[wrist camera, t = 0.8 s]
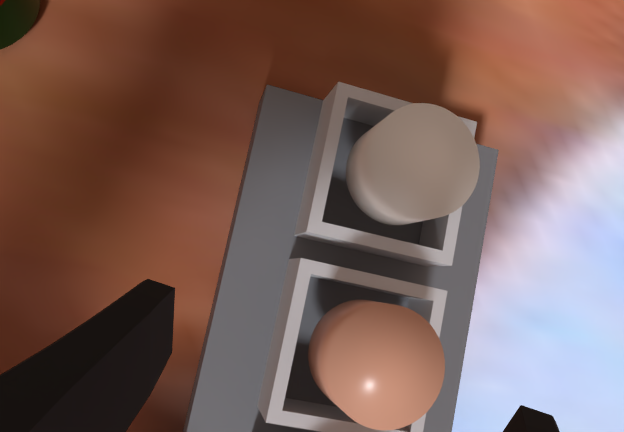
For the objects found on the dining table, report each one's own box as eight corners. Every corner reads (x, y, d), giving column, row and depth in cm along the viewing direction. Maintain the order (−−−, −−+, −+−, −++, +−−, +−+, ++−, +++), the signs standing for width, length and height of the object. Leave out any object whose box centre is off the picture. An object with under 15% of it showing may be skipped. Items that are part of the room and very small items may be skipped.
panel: (398, 580, 26) (448, 653, 21) (154, 552, 23) (146, 626, 19) (471, 160, 28) (531, 137, 23) (259, 101, 26) (276, 63, 21)
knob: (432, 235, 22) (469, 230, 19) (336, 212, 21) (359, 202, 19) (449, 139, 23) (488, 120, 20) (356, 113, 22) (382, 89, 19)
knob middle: (399, 415, 21) (433, 439, 18) (297, 398, 20) (316, 419, 18) (418, 310, 22) (454, 317, 19) (320, 289, 21) (342, 292, 18)
